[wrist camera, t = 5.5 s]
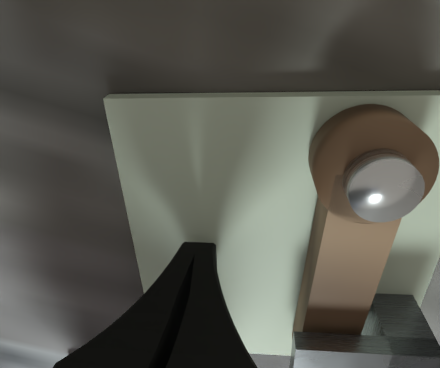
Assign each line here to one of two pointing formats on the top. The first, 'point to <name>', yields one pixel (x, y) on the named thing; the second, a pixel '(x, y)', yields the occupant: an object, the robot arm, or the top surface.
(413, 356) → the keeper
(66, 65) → the top surface
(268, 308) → the base board
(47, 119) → the top surface
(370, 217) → the pin
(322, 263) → the link
